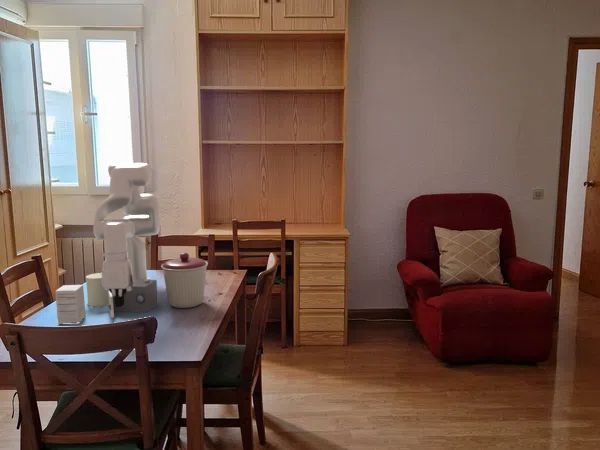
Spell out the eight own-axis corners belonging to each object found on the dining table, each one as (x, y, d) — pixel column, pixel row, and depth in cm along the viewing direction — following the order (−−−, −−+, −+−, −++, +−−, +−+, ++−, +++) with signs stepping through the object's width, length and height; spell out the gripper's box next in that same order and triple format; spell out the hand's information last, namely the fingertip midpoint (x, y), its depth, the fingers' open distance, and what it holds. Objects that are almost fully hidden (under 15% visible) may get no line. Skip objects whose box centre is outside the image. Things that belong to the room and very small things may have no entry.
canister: (160, 301, 197) (157, 250, 194) (204, 295, 204) (202, 247, 201) (166, 314, 180) (163, 259, 177) (214, 308, 187) (212, 255, 184)
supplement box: (65, 318, 177) (62, 284, 175) (86, 317, 177) (83, 284, 176) (57, 325, 170) (54, 290, 168) (79, 324, 170) (76, 290, 168)
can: (117, 301, 197) (115, 272, 195) (101, 307, 189) (98, 278, 187) (98, 298, 200) (97, 270, 198) (82, 305, 192) (80, 276, 190)
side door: (107, 310, 184) (106, 289, 183) (112, 309, 185) (110, 288, 184) (109, 318, 175) (108, 296, 174) (114, 317, 176) (113, 295, 174)
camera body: (110, 311, 184) (108, 284, 182) (125, 302, 195) (123, 276, 193) (145, 313, 181) (143, 285, 180) (158, 304, 192) (157, 278, 191)
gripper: (91, 258, 170) (94, 308, 172) (131, 259, 168) (134, 309, 170) (103, 254, 177) (106, 302, 179) (141, 255, 175) (143, 303, 177)
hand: (119, 306), depth 175 cm, fingers closed
